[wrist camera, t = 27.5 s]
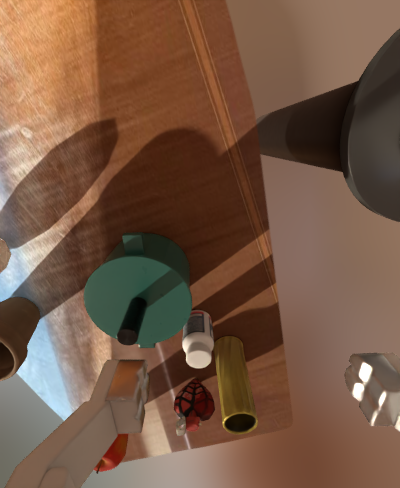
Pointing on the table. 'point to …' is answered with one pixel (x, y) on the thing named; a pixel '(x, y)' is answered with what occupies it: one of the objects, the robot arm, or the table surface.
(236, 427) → the vase
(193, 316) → the pill bottle
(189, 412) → the grenade
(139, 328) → the lid
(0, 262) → the ornament
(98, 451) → the robot arm
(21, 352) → the flower pot
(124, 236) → the pot
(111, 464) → the apple
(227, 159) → the table surface
